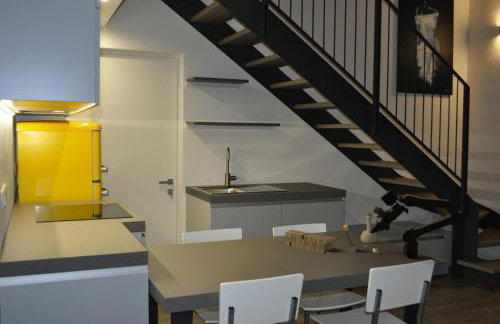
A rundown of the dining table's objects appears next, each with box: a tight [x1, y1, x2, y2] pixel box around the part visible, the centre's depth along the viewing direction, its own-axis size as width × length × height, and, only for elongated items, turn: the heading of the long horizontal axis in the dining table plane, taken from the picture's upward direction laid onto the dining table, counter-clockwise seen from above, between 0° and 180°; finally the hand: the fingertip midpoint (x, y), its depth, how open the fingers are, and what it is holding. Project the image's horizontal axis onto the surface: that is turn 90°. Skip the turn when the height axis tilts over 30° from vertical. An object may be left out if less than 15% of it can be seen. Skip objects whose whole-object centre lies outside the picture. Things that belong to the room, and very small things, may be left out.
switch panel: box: [349, 243, 381, 256], centre depth 268 cm, size 20×13×4 cm, turn 80°
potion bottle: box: [360, 211, 378, 244], centre depth 292 cm, size 9×9×18 cm
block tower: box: [284, 229, 336, 254], centre depth 278 cm, size 8×8×29 cm
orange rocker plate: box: [343, 224, 356, 247], centre depth 269 cm, size 2×5×13 cm, turn 169°
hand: (370, 232), depth 267 cm, fingers closed
